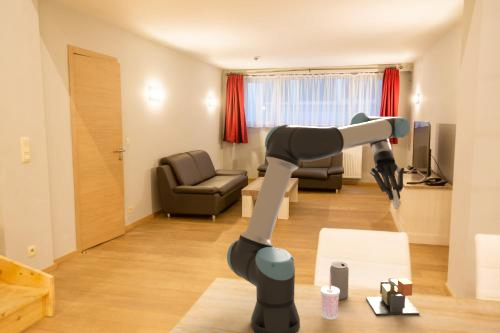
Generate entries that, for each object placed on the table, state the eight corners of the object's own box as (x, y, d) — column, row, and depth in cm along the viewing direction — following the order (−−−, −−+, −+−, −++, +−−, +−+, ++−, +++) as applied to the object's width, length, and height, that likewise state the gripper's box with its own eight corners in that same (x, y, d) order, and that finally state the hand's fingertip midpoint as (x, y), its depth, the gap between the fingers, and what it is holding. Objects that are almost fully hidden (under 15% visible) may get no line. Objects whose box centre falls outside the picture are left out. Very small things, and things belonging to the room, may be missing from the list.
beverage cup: (323, 321, 121) (324, 279, 119) (317, 311, 127) (318, 271, 125) (342, 319, 122) (343, 278, 120) (335, 310, 128) (335, 270, 126)
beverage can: (349, 300, 135) (350, 268, 133) (331, 300, 135) (332, 268, 133) (345, 292, 141) (346, 260, 139) (328, 292, 141) (328, 260, 139)
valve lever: (386, 282, 130) (386, 270, 129) (394, 281, 130) (395, 269, 130) (403, 297, 120) (403, 284, 119) (411, 296, 120) (412, 283, 119)
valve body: (376, 315, 124) (377, 292, 123) (366, 299, 135) (366, 278, 134) (419, 315, 124) (420, 292, 123) (405, 298, 135) (406, 277, 134)
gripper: (396, 161, 156) (411, 211, 142) (364, 161, 156) (376, 212, 142) (402, 149, 150) (418, 201, 136) (368, 150, 150) (382, 201, 136)
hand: (397, 206), depth 139 cm, fingers closed
